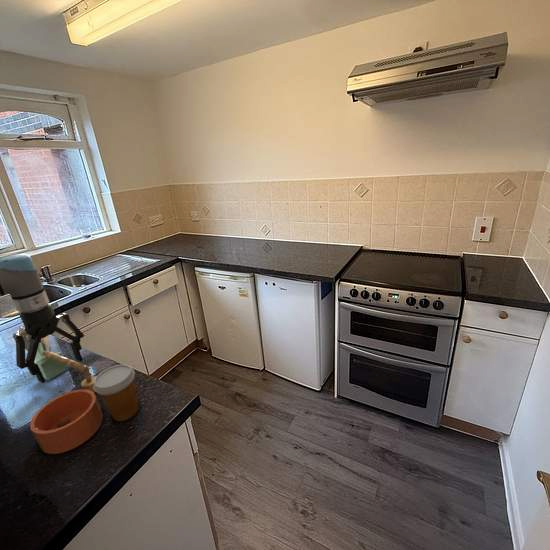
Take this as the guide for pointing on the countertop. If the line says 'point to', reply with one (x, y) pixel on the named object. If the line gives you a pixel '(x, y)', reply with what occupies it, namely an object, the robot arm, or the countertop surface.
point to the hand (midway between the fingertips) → (61, 370)
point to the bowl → (83, 424)
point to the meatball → (63, 422)
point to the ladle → (86, 383)
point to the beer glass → (42, 346)
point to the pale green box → (51, 367)
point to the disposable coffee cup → (118, 391)
